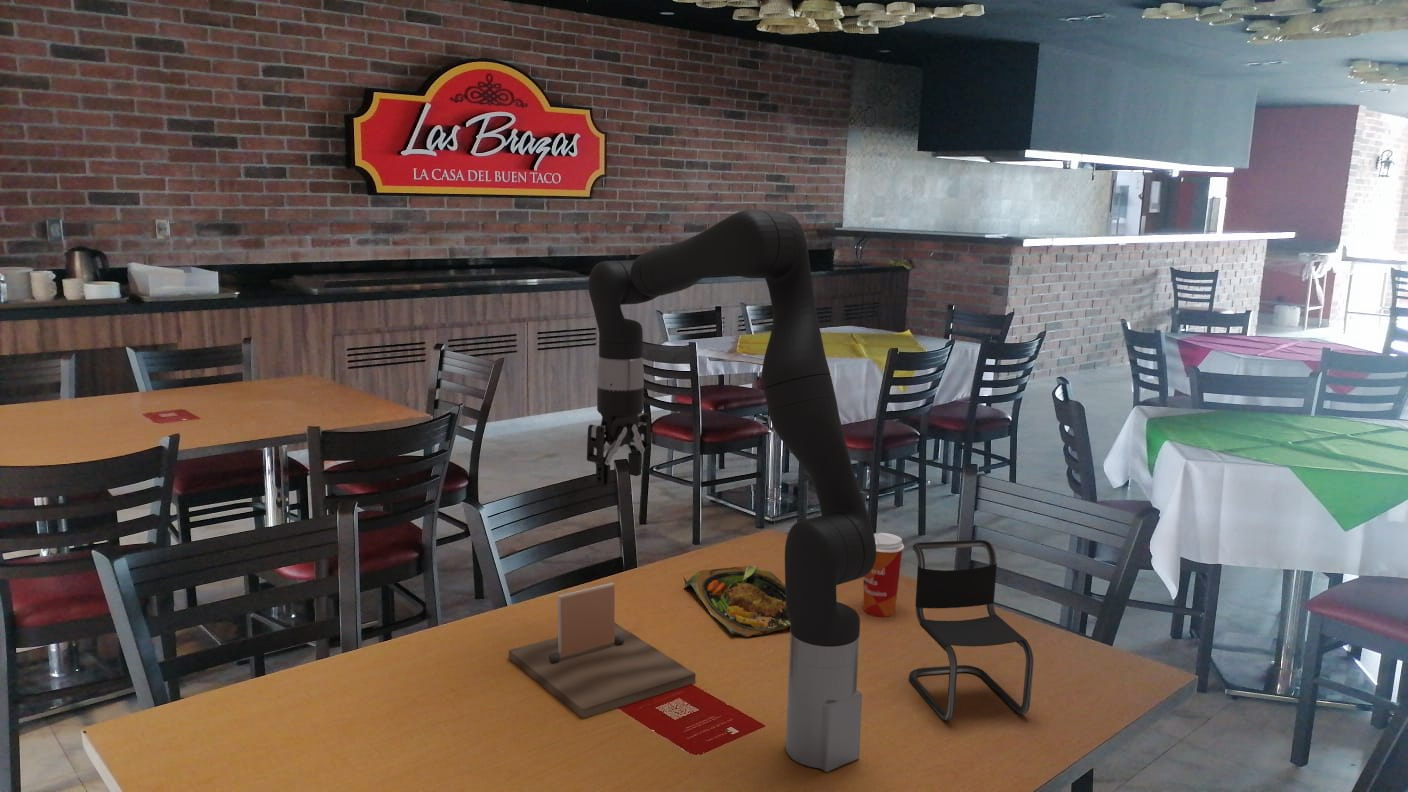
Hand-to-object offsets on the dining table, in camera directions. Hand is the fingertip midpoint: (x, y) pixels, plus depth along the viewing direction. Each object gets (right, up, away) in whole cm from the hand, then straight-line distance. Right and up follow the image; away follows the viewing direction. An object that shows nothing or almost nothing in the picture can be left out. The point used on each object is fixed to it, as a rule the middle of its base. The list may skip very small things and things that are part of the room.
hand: (619, 480), depth 167 cm
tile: (-5, -22, -4) cm, 23 cm away
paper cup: (+46, -26, +19) cm, 57 cm away
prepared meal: (+22, -26, +22) cm, 40 cm away
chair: (+54, -32, -13) cm, 64 cm away
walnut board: (-3, -30, -7) cm, 31 cm away
